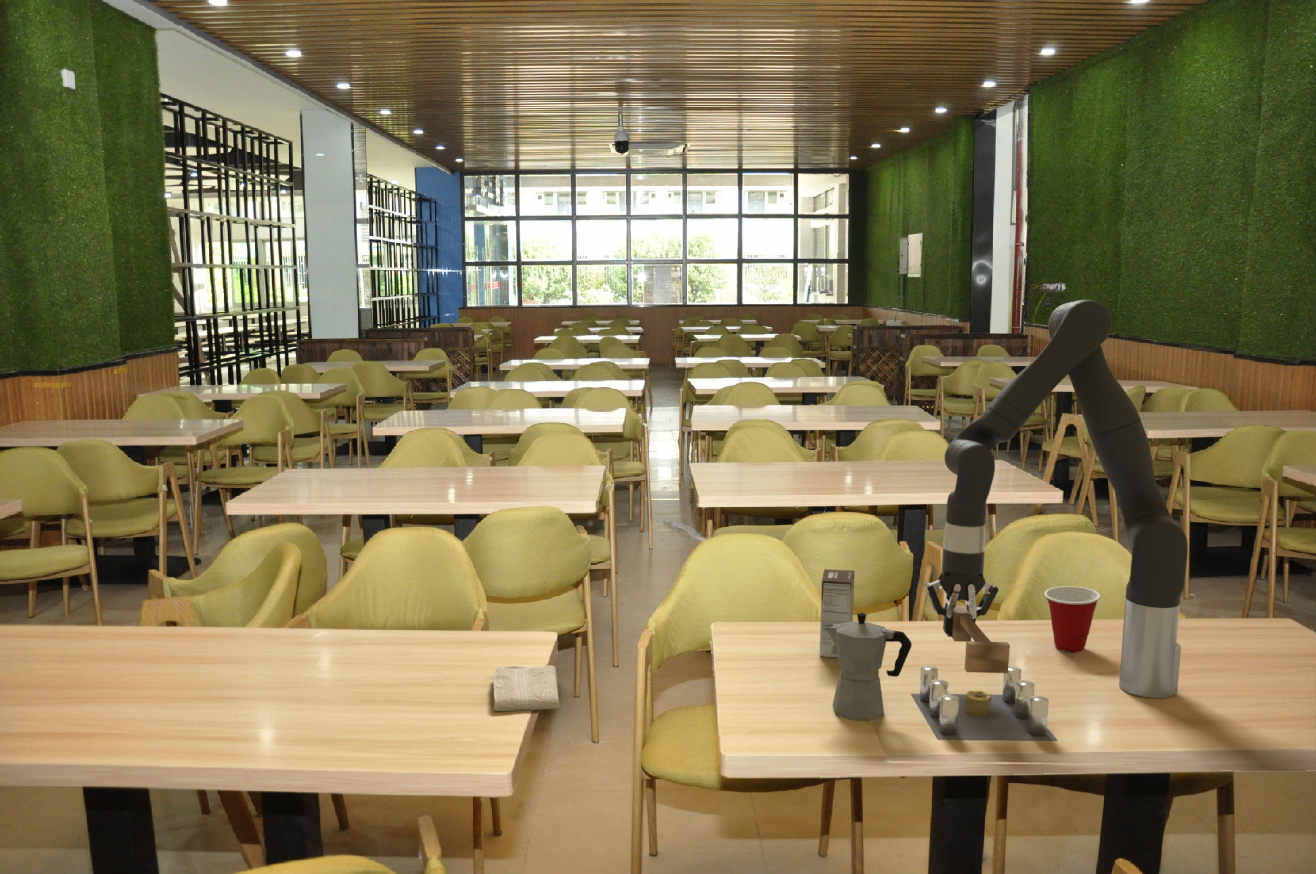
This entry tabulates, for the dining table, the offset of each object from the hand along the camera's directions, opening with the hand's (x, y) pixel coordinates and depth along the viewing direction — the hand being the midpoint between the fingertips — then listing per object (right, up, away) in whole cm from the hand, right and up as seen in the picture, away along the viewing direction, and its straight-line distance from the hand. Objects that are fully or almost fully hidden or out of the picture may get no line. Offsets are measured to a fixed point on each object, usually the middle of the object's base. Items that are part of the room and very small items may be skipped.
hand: (958, 635), depth 204 cm
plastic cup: (+29, -7, +22) cm, 37 cm away
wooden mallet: (0, -1, -8) cm, 8 cm away
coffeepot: (-20, -12, -12) cm, 26 cm away
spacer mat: (0, -12, -14) cm, 18 cm away
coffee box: (-20, -7, +20) cm, 29 cm away
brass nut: (0, -11, -12) cm, 17 cm away
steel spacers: (0, -12, -14) cm, 18 cm away
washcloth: (-81, -10, -4) cm, 82 cm away
